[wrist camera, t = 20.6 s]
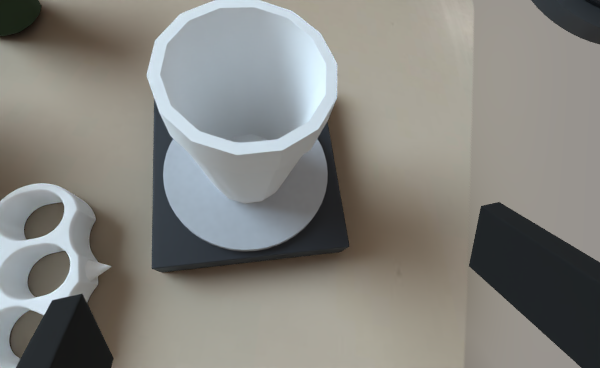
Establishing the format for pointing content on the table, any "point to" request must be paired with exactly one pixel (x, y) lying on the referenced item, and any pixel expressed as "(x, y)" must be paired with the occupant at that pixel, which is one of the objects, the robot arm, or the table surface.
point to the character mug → (17, 15)
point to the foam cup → (243, 92)
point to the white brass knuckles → (41, 255)
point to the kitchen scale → (241, 211)
